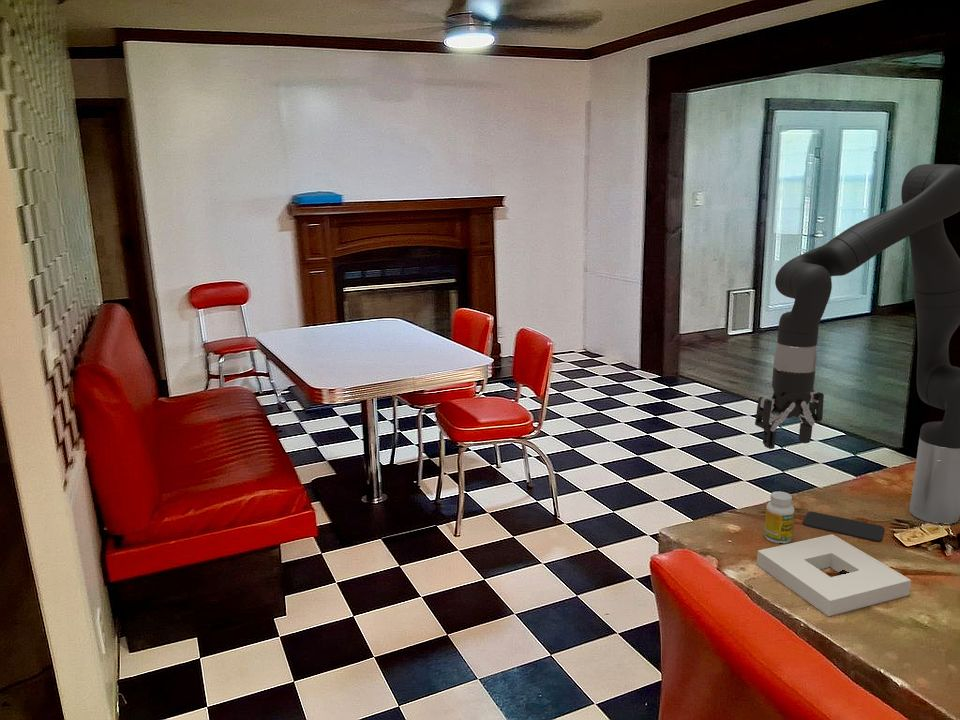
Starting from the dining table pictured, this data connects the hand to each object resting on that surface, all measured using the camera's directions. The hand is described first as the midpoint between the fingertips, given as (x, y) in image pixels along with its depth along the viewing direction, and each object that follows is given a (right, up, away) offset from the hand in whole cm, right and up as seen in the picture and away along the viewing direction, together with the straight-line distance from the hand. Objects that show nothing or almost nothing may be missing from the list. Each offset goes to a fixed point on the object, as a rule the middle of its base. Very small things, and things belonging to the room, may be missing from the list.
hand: (786, 444), depth 143 cm
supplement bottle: (0, -20, +5) cm, 21 cm away
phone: (+16, -19, +9) cm, 27 cm away
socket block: (+4, -24, -10) cm, 26 cm away
